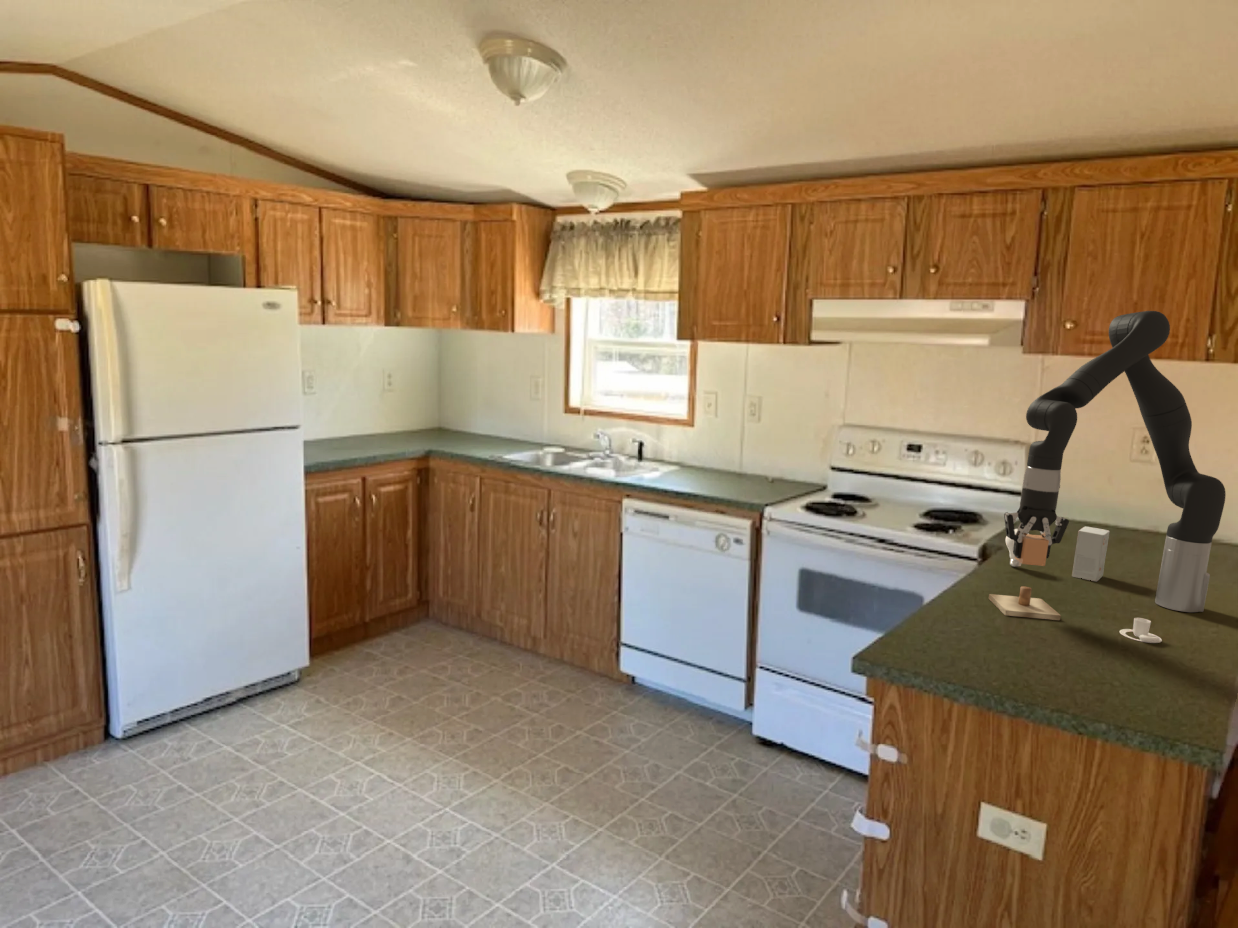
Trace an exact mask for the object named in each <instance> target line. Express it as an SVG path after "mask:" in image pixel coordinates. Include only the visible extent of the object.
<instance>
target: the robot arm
mask: <svg viewBox="0 0 1238 928" xmlns="http://www.w3.org/2000/svg"><path fill="white" fill-rule="evenodd" d="M1170 326H1171V325H1170V321H1169V319H1168V318H1167V316H1166V315H1165V314H1163V313H1162V312H1160V311H1158V310H1143V311H1137V312H1136V311H1135V312H1131V313H1126V314H1125V313H1124V314H1121V315H1118V316H1116V317H1114V318H1113V319H1112V320H1111V322H1110V324H1109V327H1108V337H1109V342H1110V345H1111V348H1110V349H1108V350H1107V351H1105V352H1103V353H1102V354H1099V355H1098V356H1096V357H1094V358H1093V359H1090V360H1089V361H1087V362H1086V363H1084V364H1083V365H1081V366H1080V367H1079V368H1077V369H1076V370H1075V371H1074V372H1073V373H1072V374H1071V375H1070V376H1069V377H1067V378H1066V380H1065V381H1063V383H1062V384H1060V385H1058V386H1056V387H1054V388H1052V389H1050V390H1049V391H1046V392H1044V393H1043V394H1040V396H1038V397H1037V398H1035V399H1034V400H1033V401H1032V402H1031V403H1030V405H1029V406H1028V407H1027V411H1026V413H1025V414H1026V415H1025V419H1026V422H1027V425H1028V426H1030V427H1031V428H1033V429H1035V430H1038V431H1045V432H1048V433H1047V434H1046V436H1045V439H1044V440H1036V441H1033V442H1032V443H1031V444H1030V445H1029V451H1028V456H1027V462H1026V468H1025V471H1024V475H1023V481H1022V487H1021V494H1020V501H1019V508H1018V510H1017V511H1016V512H1008V511H1007V512H1005V513H1004V514H1003V516H1004V517H1003V518H1004V526H1005V535H1006V536H1007V537H1009V538H1010V539H1012V540H1014V547H1013V554H1014V555H1015V557H1016V558H1021V553H1022V547H1023V543H1022V541H1023V540H1024V537H1025V536H1026V535H1027V534H1028V533H1029V532H1030V531H1038V532H1039V533H1040V535H1041V536H1042V537H1044V538H1045V539H1047V540H1049V543H1048V550H1047V556H1046V559H1049V558H1050V553H1051V546H1052V545H1054V544H1060V543H1061V541H1062V539H1063V537H1064V534H1065V532H1066V530H1067V527H1068V526H1069V522H1070V521H1069V519H1067V518H1066V517H1064V516H1058V515H1057V512H1056V511H1057V507H1058V506H1057V505H1058V499H1059V494H1060V493H1059V492H1060V488H1061V479H1062V477H1061V473H1062V472H1061V471H1062V465H1063V458H1064V452H1065V450H1066V448H1067V446H1068V444H1069V442H1070V439H1071V437H1072V435H1073V433H1074V431H1075V428H1076V426H1077V422H1078V412H1077V410H1076V409H1082V408H1084V407H1085V406H1087V405H1088V404H1089V403H1090V402H1092V400H1094V399H1095V397H1097V396H1098V395H1099V394H1100V393H1101V392H1102V391H1103V390H1104V389H1105V388H1106V387H1108V385H1110V384H1111V383H1112V382H1113V381H1114V380H1115V379H1116V378H1118V377H1119V376H1120V375H1121V374H1123V373H1125V375H1126V377H1127V380H1128V382H1129V385H1130V387H1131V389H1132V390H1131V391H1132V392H1133V395H1134V397H1135V400H1136V403H1137V405H1138V409H1139V411H1140V414H1141V418H1142V421H1143V422H1144V423H1143V424H1144V425H1145V428H1146V430H1147V432H1148V435H1149V437H1150V441H1151V443H1152V446H1153V449H1154V451H1155V453H1156V456H1157V459H1158V463H1159V466H1160V470H1161V476H1162V480H1163V483H1164V489H1165V493H1166V494H1167V497H1168V498H1169V501H1170V502H1171V503H1172V504H1174V506H1176V507H1178V508H1180V509H1182V512H1181V517H1180V519H1179V520H1178V521H1177V522H1172V523H1169V524H1168V525H1167V528H1166V529H1167V530H1166V533H1165V535H1166V536H1165V540H1164V541H1165V542H1164V547H1163V551H1162V552H1163V553H1162V558H1161V565H1160V570H1159V574H1158V575H1159V576H1158V580H1157V581H1158V582H1157V587H1156V588H1157V589H1156V593H1155V599H1154V602H1155V604H1156V605H1158V606H1160V607H1163V608H1166V609H1168V610H1173V611H1179V612H1182V613H1183V612H1185V613H1198V612H1200V613H1201V612H1202V613H1203V612H1204V609H1205V604H1206V599H1207V594H1208V588H1209V584H1210V578H1211V577H1210V576H1211V574H1210V573H1209V572H1207V571H1208V564H1209V560H1210V553H1211V548H1212V544H1213V543H1212V542H1213V538H1214V536H1215V535H1216V533H1217V531H1218V530H1219V527H1220V524H1221V519H1222V517H1223V516H1222V515H1223V512H1224V508H1225V502H1226V495H1227V494H1226V488H1225V485H1224V484H1223V482H1222V481H1221V480H1220V479H1218V478H1216V477H1214V476H1211V475H1208V474H1203V473H1200V472H1199V471H1198V469H1197V467H1196V464H1195V463H1194V461H1193V458H1192V456H1191V452H1190V439H1191V434H1192V425H1193V424H1192V417H1191V413H1190V411H1189V407H1188V404H1187V402H1186V400H1185V398H1184V395H1183V394H1182V392H1181V391H1180V390H1179V388H1178V387H1177V386H1176V385H1175V384H1174V383H1173V382H1171V380H1169V379H1168V378H1167V377H1166V376H1165V375H1164V374H1163V373H1161V371H1159V370H1158V369H1157V367H1156V366H1155V364H1154V363H1153V362H1152V360H1151V358H1150V354H1152V353H1153V352H1155V350H1158V349H1160V347H1162V346H1163V345H1164V344H1165V343H1166V342H1167V340H1168V338H1169V336H1170V331H1171V327H1170ZM1017 519H1018V520H1019V521H1020V523H1019V525H1018V527H1017V529H1018V531H1017V533H1016V534H1015V531H1014V529H1015V523H1016V521H1017ZM1053 523H1054V524H1055V526H1056V527H1055V528H1054V530H1053V533H1051V529H1050V526H1052V525H1053ZM1029 534H1030V533H1029ZM1006 536H1005V537H1006Z"/></svg>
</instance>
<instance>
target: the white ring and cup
mask: <svg viewBox="0 0 1238 928" xmlns="http://www.w3.org/2000/svg"><path fill="white" fill-rule="evenodd" d="M1151 624H1152V621H1151V620H1150V619H1147V618H1143V617H1134V618H1133V626H1132V629H1130V628H1123V629H1120V630H1119V634H1120V635H1122V636H1124V637H1125V638H1128V639H1130V640H1134V641H1137V642H1142V643H1149V644H1158V643H1161V642H1163V640H1162V638H1161V637H1160V636H1158V635H1156V634H1153V633H1150V632H1149V631H1150V627H1151ZM1128 632H1133V635H1134V636H1135V637H1136V638H1134V637H1132V636H1129V635H1128V634H1127V633H1128ZM1138 638H1139V639H1138Z"/></svg>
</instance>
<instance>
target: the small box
mask: <svg viewBox="0 0 1238 928" xmlns="http://www.w3.org/2000/svg"><path fill="white" fill-rule="evenodd" d="M1110 531H1111V530H1107V529H1102V528H1097V527H1091V526H1083V527H1082V528H1080V529H1079V530H1078V531H1077V538H1076V546H1075V551H1074V559H1073V567H1072V572H1071V577H1072V578H1077V579H1081V578H1082V580H1087V581H1090V580H1091V581H1092V582H1098V581H1100V579H1101V578H1102V577H1103V576H1104V569H1105V565H1106V564H1105V562H1106V555H1107V550H1108V545H1109V537H1110Z"/></svg>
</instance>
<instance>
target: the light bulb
mask: <svg viewBox="0 0 1238 928" xmlns="http://www.w3.org/2000/svg"><path fill="white" fill-rule="evenodd" d="M1014 531H1015V534H1016V533H1017V531H1018V528H1014ZM1028 534H1030V533H1028ZM1005 544H1006V547H1007V550H1008V551H1009V558H1010V559H1009V565H1010V566H1012V567H1013V568H1019V567H1021V566H1022V563H1020V562H1019V561H1018V560H1017V559H1015V555H1014V554H1013V547H1014V540H1012V539H1010V538H1009V537H1007V536H1005Z"/></svg>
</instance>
